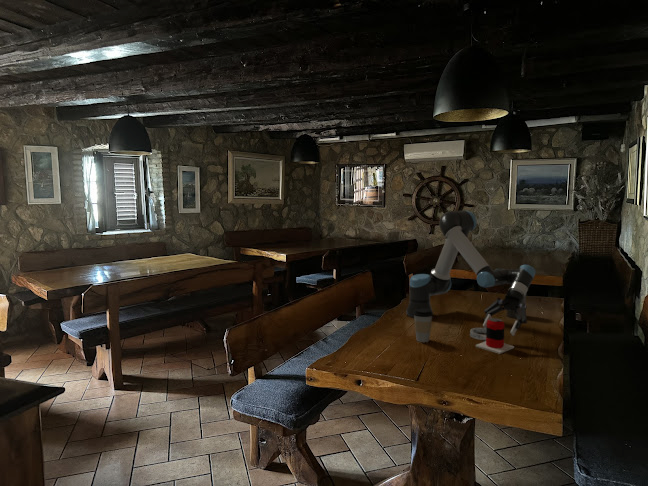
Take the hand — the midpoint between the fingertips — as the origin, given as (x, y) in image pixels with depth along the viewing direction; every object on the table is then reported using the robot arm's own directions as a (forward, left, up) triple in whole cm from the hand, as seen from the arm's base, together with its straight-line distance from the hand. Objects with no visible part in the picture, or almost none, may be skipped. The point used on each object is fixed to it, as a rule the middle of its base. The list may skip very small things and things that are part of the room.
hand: (497, 330), depth 198 cm
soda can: (0, -2, -7) cm, 7 cm away
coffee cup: (-27, -20, -8) cm, 34 cm away
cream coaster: (0, -2, -8) cm, 8 cm away
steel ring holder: (-12, +8, -8) cm, 17 cm away
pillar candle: (-20, +54, -8) cm, 58 cm away
